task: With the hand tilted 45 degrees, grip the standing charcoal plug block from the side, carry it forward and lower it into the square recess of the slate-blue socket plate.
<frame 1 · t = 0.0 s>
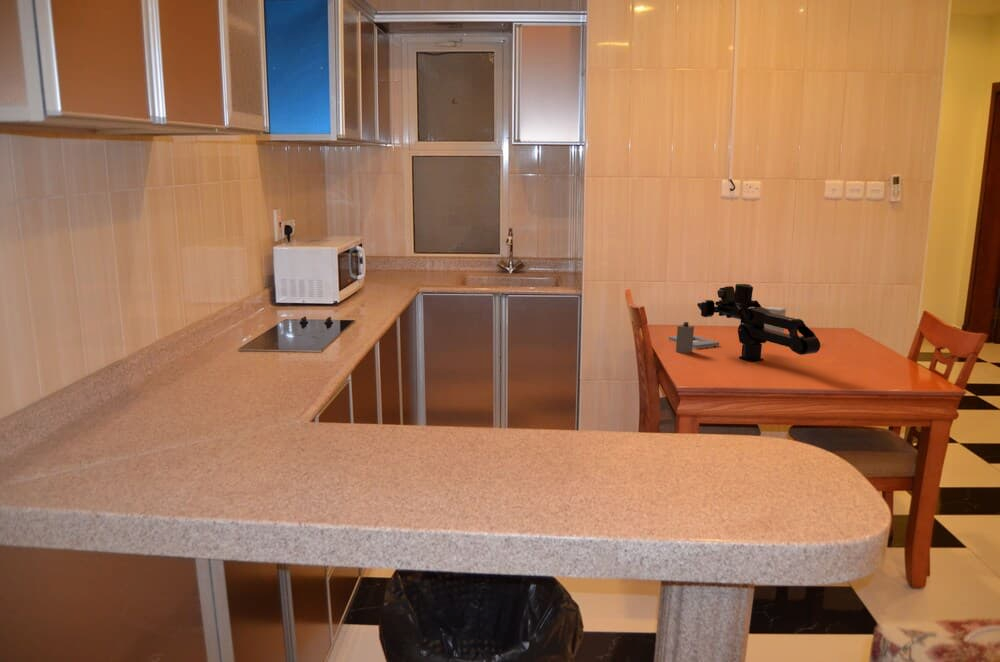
hand: (706, 303, 307), 17 cm above the table, tool horizontal, fingers open, 9 cm apart
socket: (693, 343, 312), on the table
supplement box: (771, 338, 325), on the table
plug: (683, 351, 297), on the table
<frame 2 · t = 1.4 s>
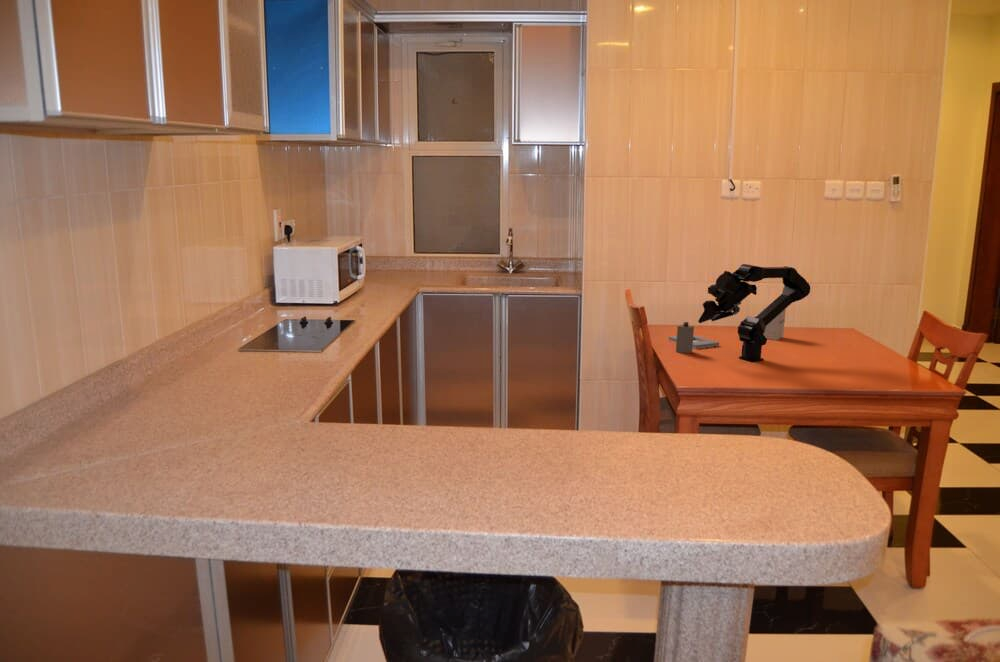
hand: (705, 321, 291), 13 cm above the table, tool tilted 45°, fingers open, 9 cm apart
nothing on the table moved.
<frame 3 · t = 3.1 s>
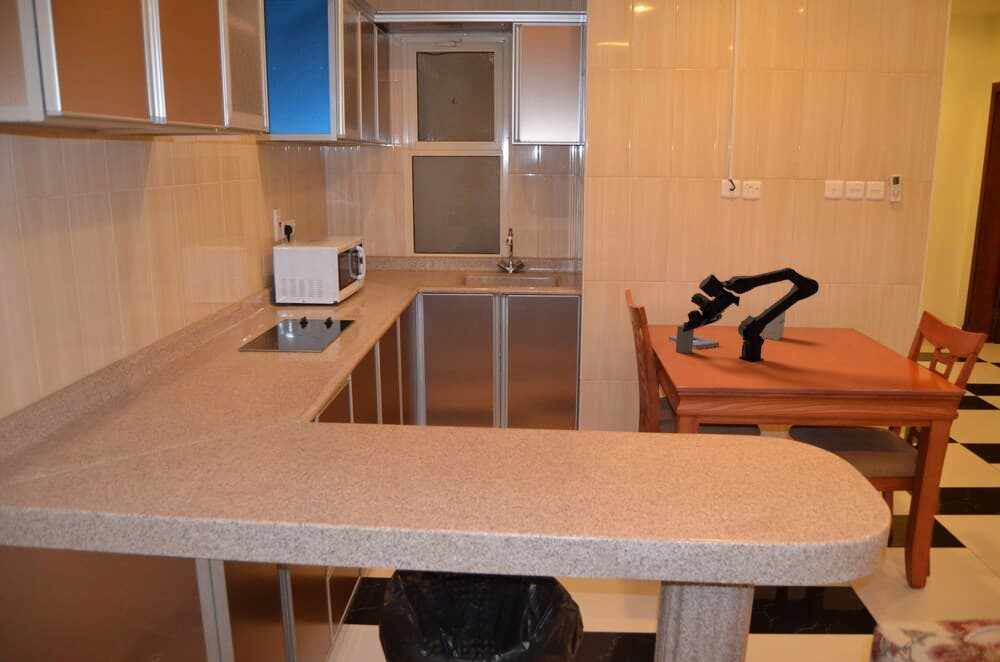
hand: (689, 329, 294), 9 cm above the table, tool tilted 45°, fingers open, 9 cm apart
nothing on the table moved.
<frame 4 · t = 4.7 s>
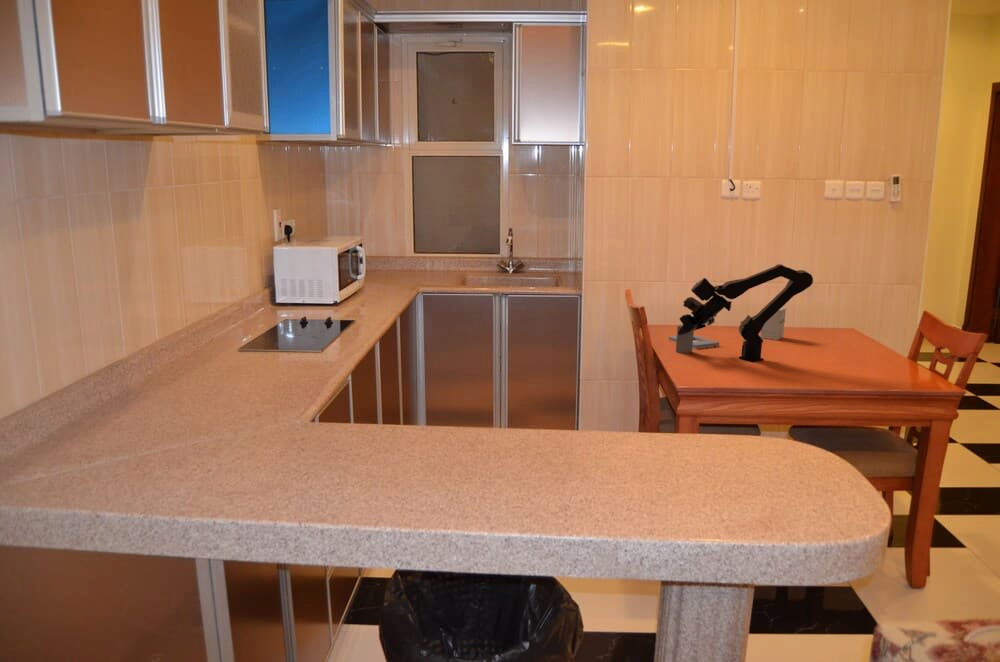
hand: (681, 333, 297), 7 cm above the table, tool tilted 45°, fingers closed on plug, 4 cm apart
plug: (683, 351, 297), on the table, touching gripper
everything else where it was.
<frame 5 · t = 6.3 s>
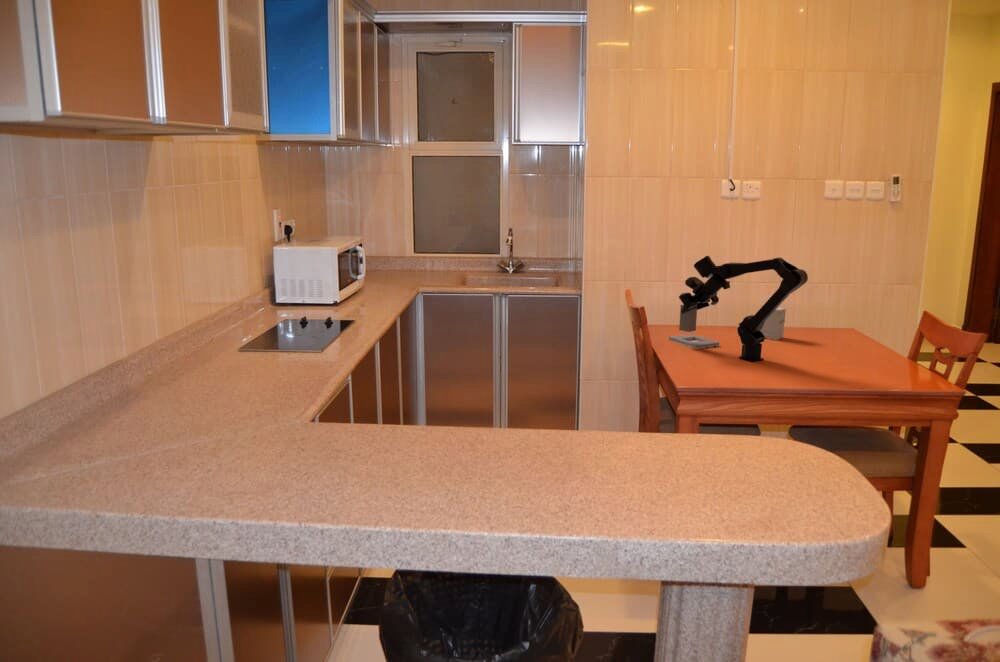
hand: (685, 311, 306), 13 cm above the table, tool tilted 45°, fingers closed on plug, 4 cm apart
plug: (687, 330, 306), point 6 cm above the table, touching gripper
everything else where it was.
when the fingers open (9 cm above the table, at t = 7.9 s): plug drops 1 cm, resting on socket.
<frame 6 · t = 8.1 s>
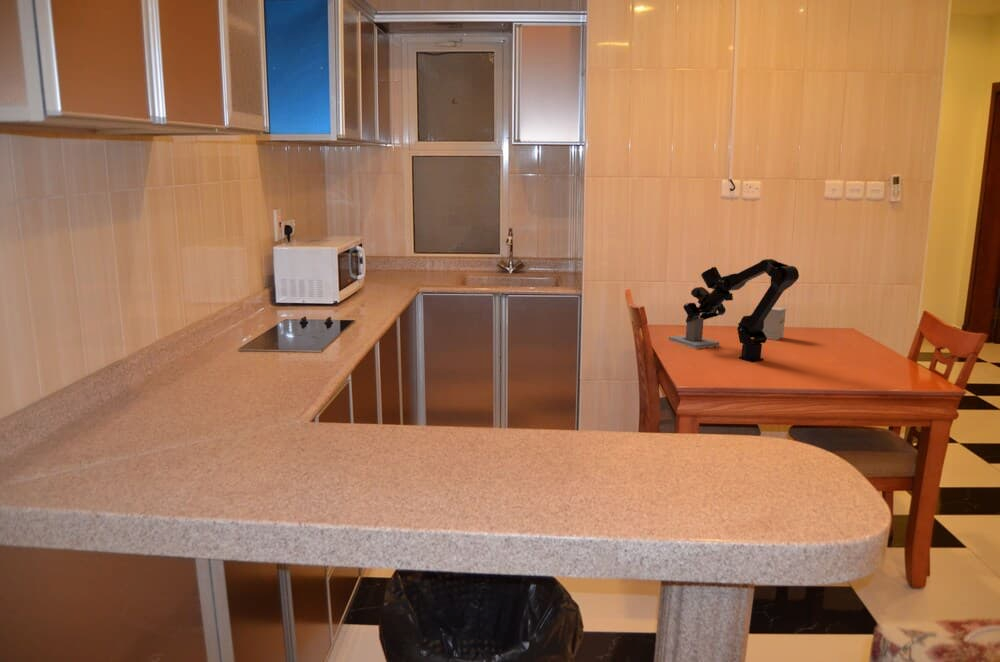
hand: (692, 321, 312), 9 cm above the table, tool tilted 45°, fingers open, 6 cm apart
plug: (693, 342, 312), resting on socket
everything else where it was.
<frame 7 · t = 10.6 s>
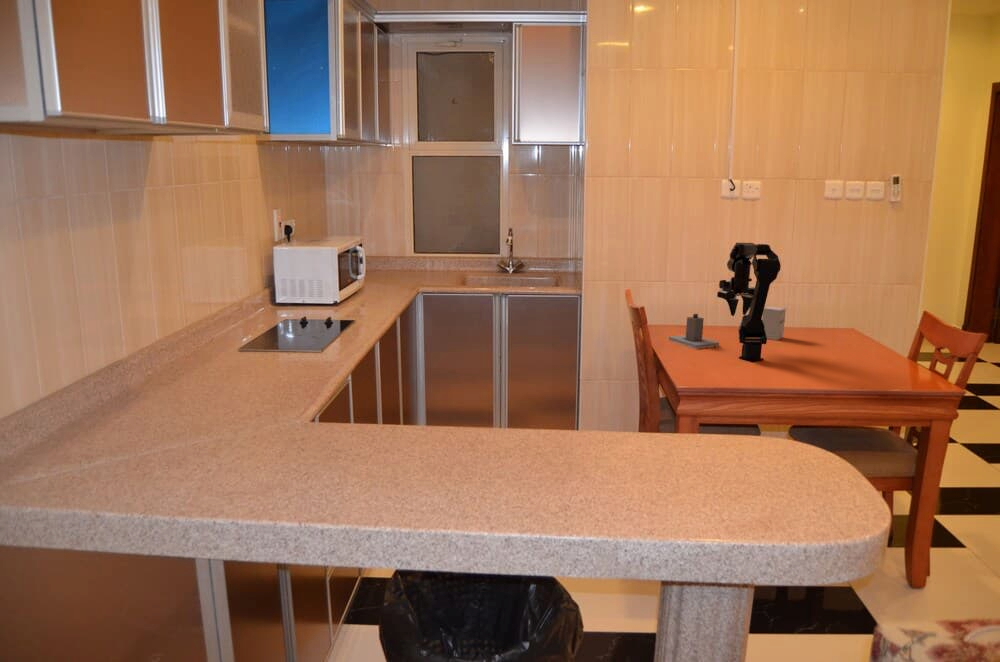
hand: (738, 315, 303), 13 cm above the table, tool pointing down, fingers open, 6 cm apart
nothing on the table moved.
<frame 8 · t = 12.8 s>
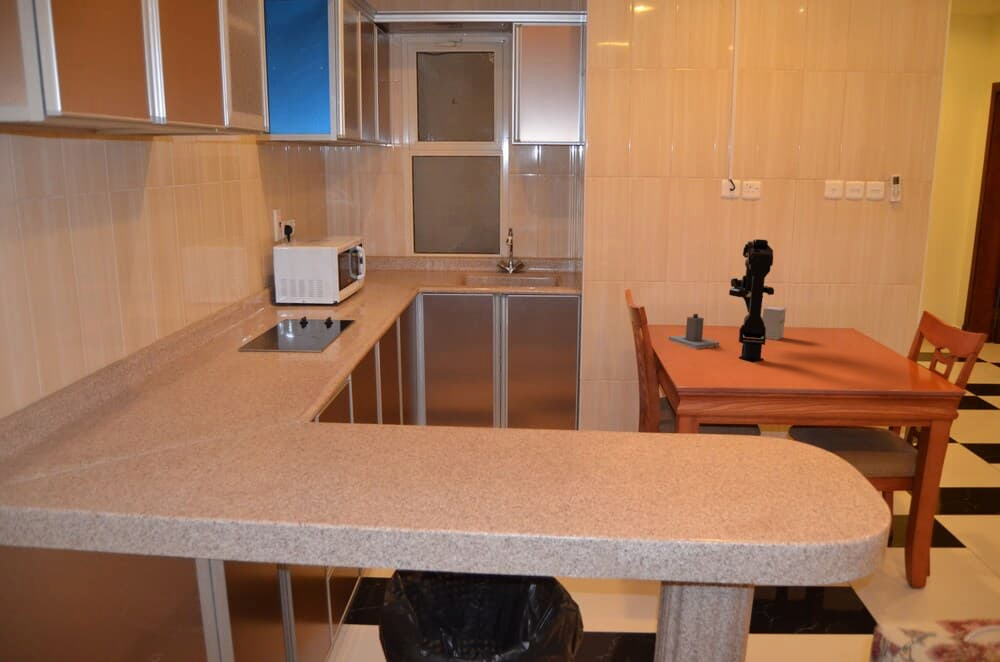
hand: (749, 312, 308), 13 cm above the table, tool pointing down, fingers closed
nothing on the table moved.
at the end: plug 0.0 cm off-centre on the socket, point 0.3 cm above the socket's base; plug tilted 0°; the gripper is holding nothing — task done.
